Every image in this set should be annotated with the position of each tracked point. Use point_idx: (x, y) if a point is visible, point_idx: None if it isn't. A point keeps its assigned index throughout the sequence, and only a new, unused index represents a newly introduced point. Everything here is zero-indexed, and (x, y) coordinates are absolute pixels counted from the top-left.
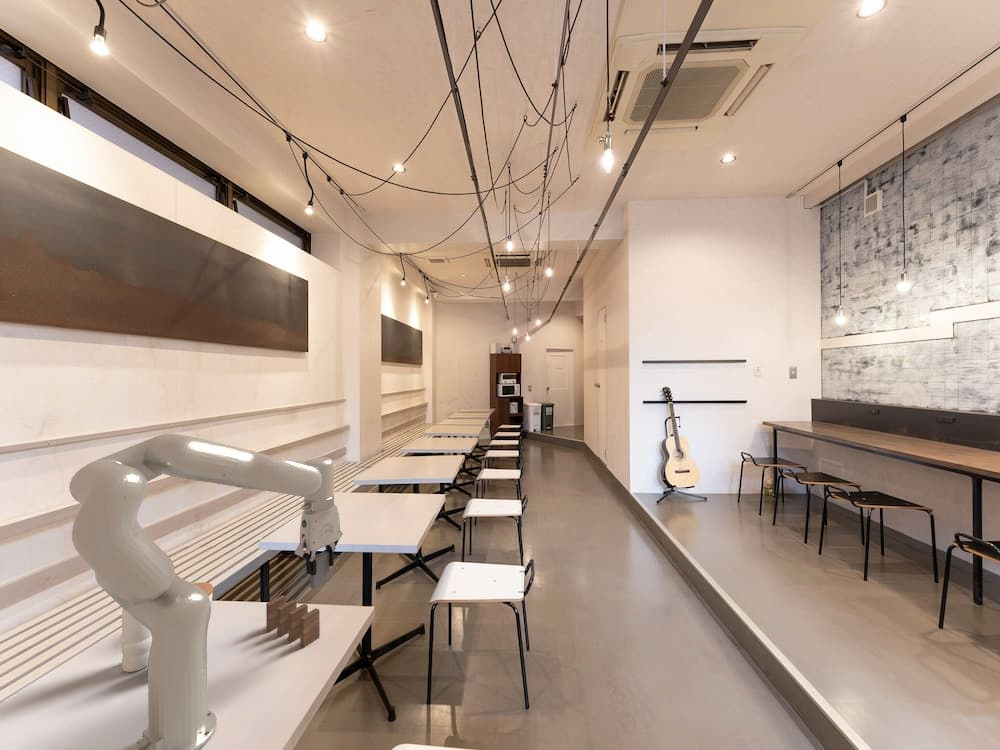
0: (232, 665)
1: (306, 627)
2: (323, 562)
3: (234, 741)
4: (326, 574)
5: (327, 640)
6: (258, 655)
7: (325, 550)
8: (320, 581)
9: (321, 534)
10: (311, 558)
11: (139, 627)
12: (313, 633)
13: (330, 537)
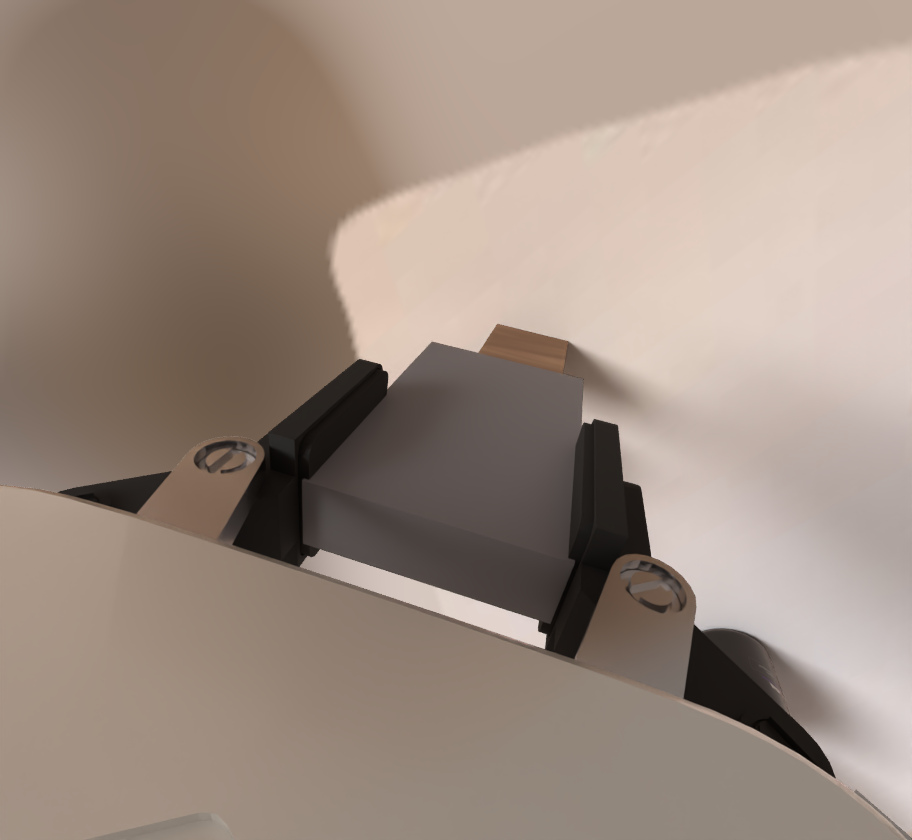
0: (697, 514)
1: (549, 365)
2: (439, 451)
3: None
4: (445, 375)
5: (504, 278)
6: (636, 469)
7: (295, 549)
8: (518, 377)
9: None
10: (662, 608)
11: None
12: (521, 340)
13: (71, 724)
